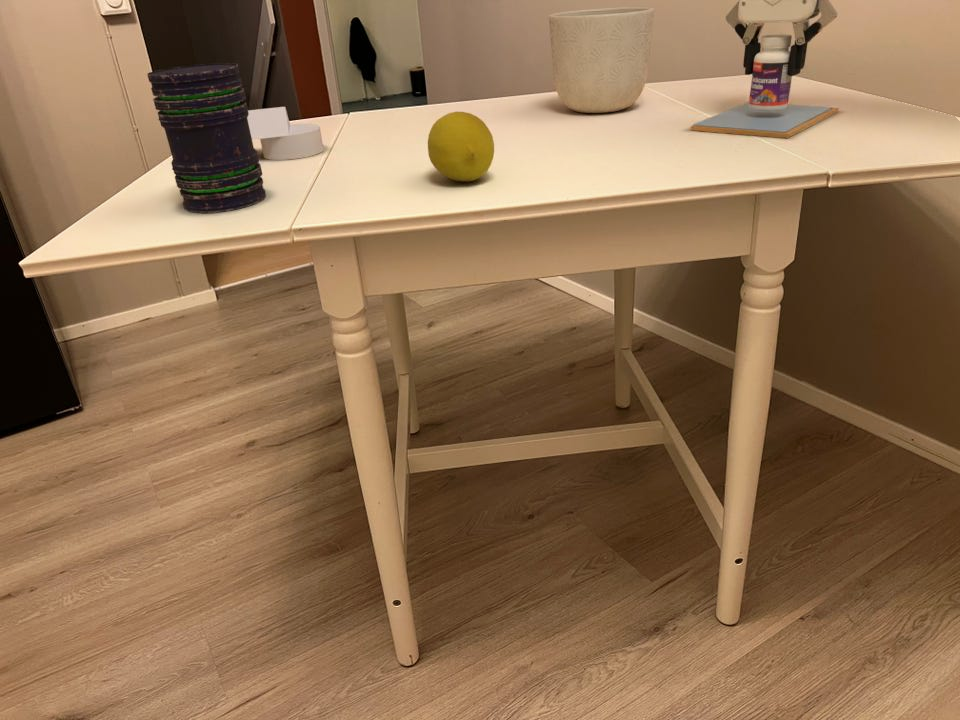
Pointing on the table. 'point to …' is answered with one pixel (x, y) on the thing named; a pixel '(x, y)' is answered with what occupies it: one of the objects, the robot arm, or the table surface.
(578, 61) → the planter
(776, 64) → the pill bottle
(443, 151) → the lemon
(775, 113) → the board
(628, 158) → the table surface
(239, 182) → the storage jar
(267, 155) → the wedge on round base
